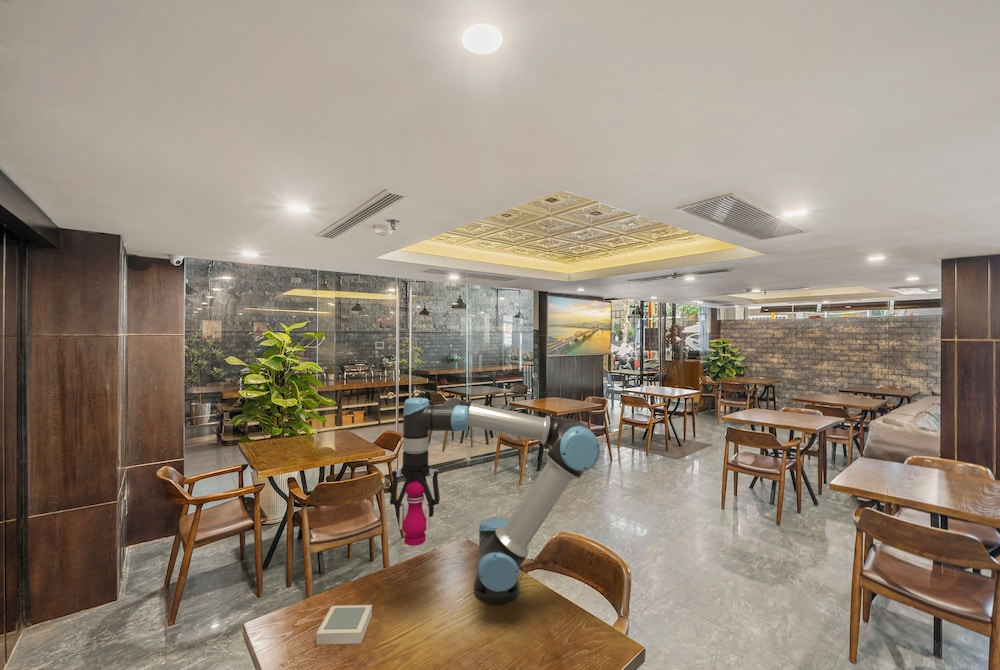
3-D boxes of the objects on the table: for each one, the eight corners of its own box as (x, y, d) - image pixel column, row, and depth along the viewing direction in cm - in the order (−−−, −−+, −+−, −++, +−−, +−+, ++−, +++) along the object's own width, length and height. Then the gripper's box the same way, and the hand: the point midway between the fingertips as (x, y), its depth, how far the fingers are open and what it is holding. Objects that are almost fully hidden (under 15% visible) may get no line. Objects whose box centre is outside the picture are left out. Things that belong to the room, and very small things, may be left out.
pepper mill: (421, 548, 123) (422, 478, 123) (398, 545, 125) (399, 476, 125) (430, 536, 130) (431, 471, 130) (408, 534, 132) (409, 469, 132)
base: (372, 614, 129) (372, 604, 129) (360, 643, 117) (360, 631, 117) (331, 615, 128) (331, 604, 128) (316, 644, 116) (316, 632, 116)
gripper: (450, 447, 132) (449, 521, 132) (384, 447, 131) (384, 522, 131) (448, 453, 124) (447, 532, 124) (378, 453, 123) (377, 533, 123)
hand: (414, 527), depth 127 cm, fingers closed on pepper mill, 7 cm apart
